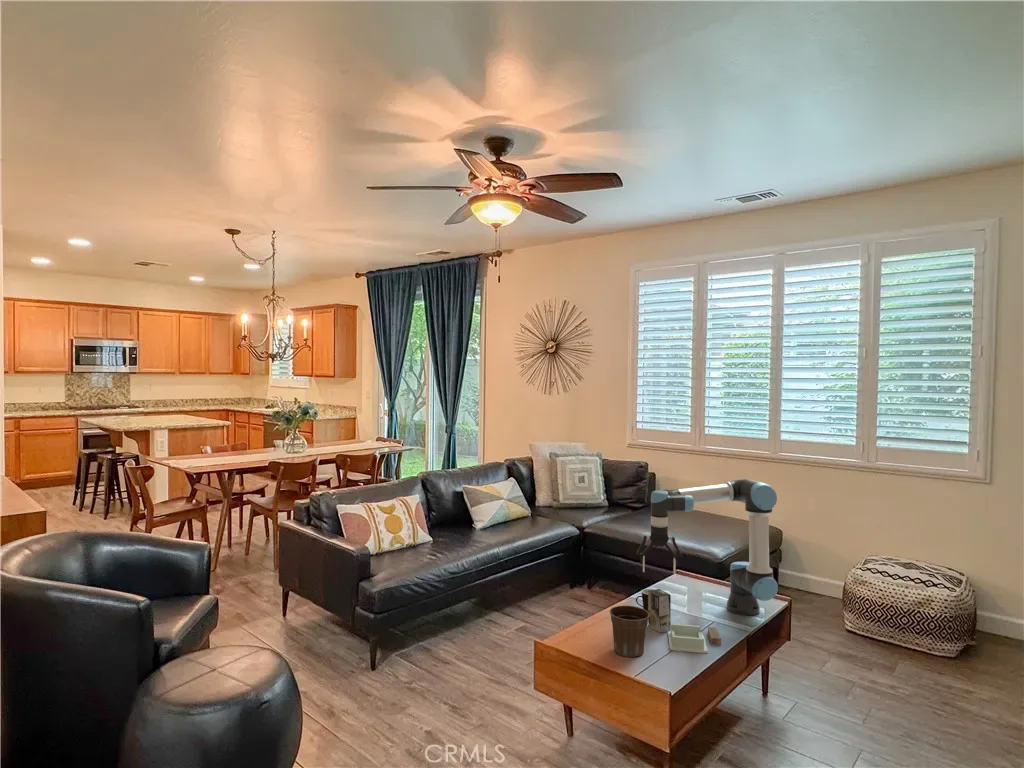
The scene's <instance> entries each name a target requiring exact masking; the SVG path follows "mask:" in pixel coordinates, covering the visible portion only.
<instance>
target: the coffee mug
mask: <svg viewBox="0 0 1024 768" xmlns="http://www.w3.org/2000/svg"><path fill="white" fill-rule="evenodd" d="M650 590H655V588H644V589H641V595H637V596H636V598H635V603H636V604H637V605H638V606H639V607H640V608H642V609H645V610H646V611H648V591H650ZM639 598H641V599H642V604H640V603H639V602H638V600H639Z"/></svg>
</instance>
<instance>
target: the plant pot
mask: <svg viewBox="0 0 1024 768" xmlns="http://www.w3.org/2000/svg"><path fill="white" fill-rule="evenodd" d="M609 614H610V620H611V623H612V637H613V650H614V652H615V653H617V655H619V656H622V657H626V658H636V657H637V656H638V657H641V656H642V655H643V654H644V653H645V643H646V642H645V641H646V636H647V628H648V627H647V626H649V625H648V618H649V616H650V614H649V612H648V611H646V610H645V609H643V607H640V606H639V607H638V606H634V605H617V606H613V607H611V608H610V609H609Z"/></svg>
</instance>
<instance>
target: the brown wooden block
mask: <svg viewBox="0 0 1024 768" xmlns="http://www.w3.org/2000/svg"><path fill="white" fill-rule="evenodd" d="M707 633H708V635H707V636H708V637H709V641H710V645H715V646H716V645H717V646H722V638H721V634H720V631H719V628H718V627H713V626H707Z"/></svg>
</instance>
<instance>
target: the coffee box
mask: <svg viewBox="0 0 1024 768" xmlns="http://www.w3.org/2000/svg"><path fill="white" fill-rule="evenodd" d="M671 598H672V597H671V594H670V593H668V592H666V591H664V590H662V589H660V588H657V589H654V590H650V591H648V612H649V614H650V616H649V618H648V625H647V626H649V627H650V628H652V629H653V630H655V631H656V632H658V633H665V632H668V631H671V624H672V623H671V616H672V615H671V614H672V613H671V610H672V609H671V607H672V606H671V602H672V601H671Z"/></svg>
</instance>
